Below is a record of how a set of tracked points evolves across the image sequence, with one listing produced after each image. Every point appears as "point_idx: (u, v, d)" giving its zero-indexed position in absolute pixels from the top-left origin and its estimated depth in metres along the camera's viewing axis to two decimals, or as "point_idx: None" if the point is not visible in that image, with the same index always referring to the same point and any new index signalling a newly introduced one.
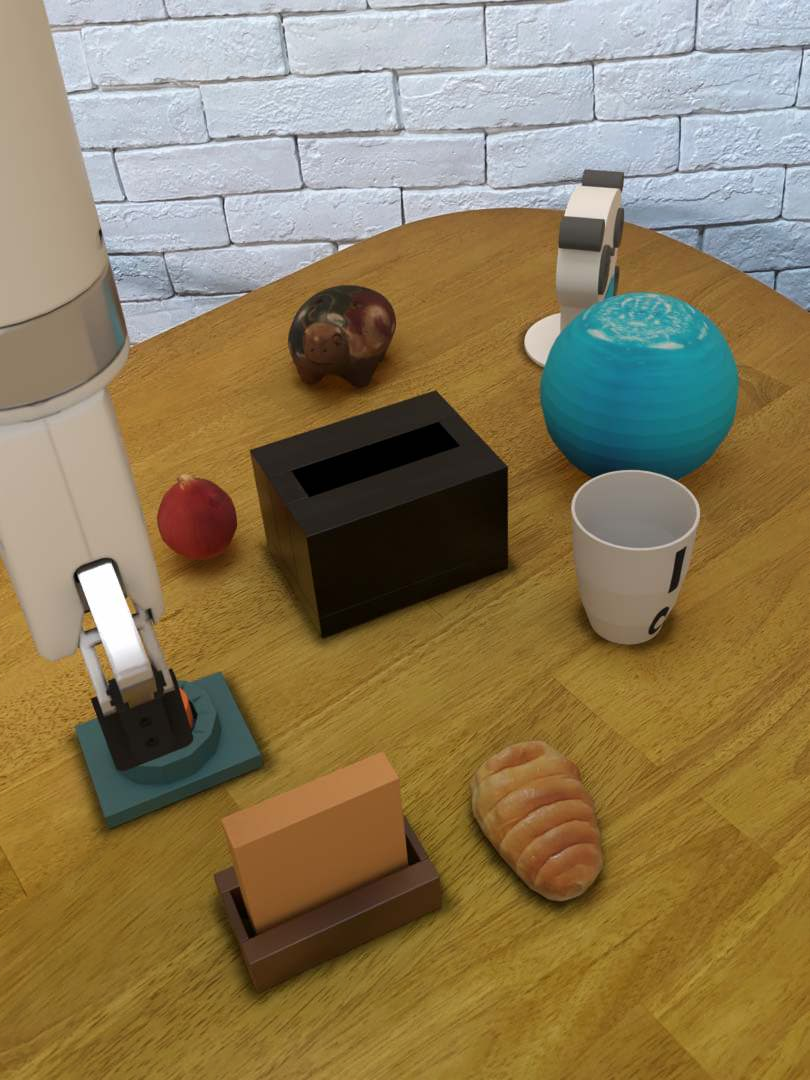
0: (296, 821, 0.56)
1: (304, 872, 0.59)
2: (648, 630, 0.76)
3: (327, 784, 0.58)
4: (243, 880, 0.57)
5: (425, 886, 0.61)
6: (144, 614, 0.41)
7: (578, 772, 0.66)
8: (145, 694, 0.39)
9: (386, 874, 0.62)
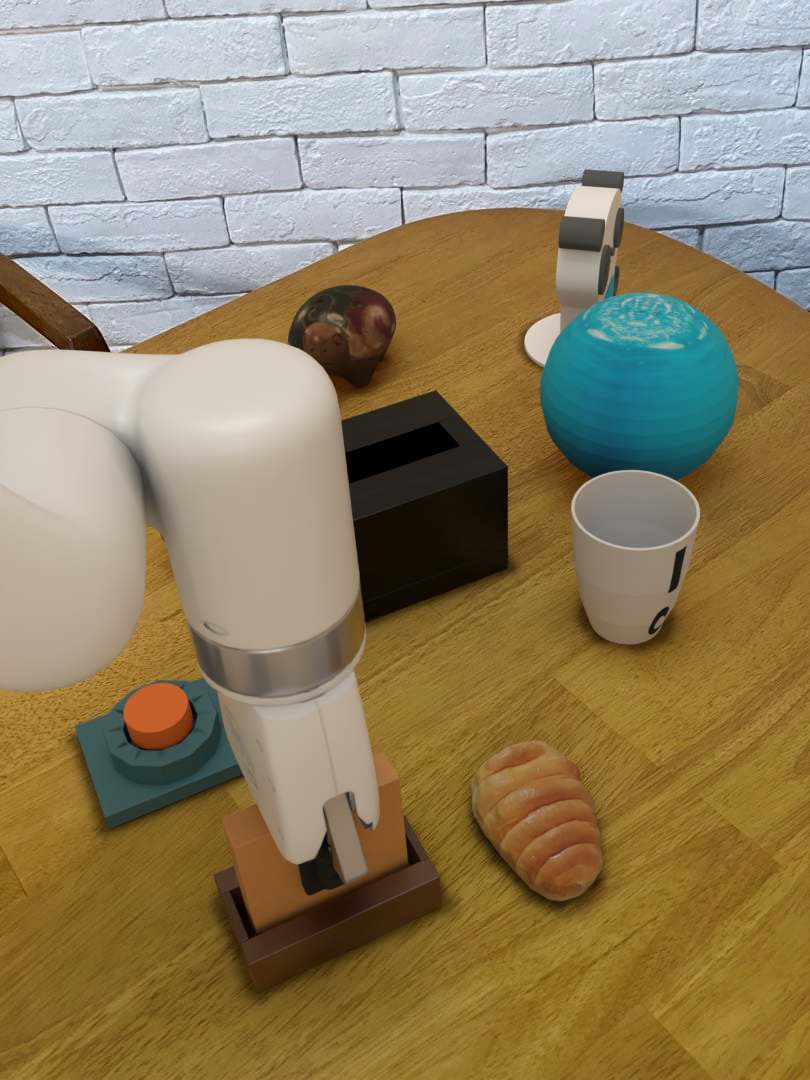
0: None
1: None
2: (648, 630, 0.76)
3: None
4: (243, 880, 0.57)
5: (425, 886, 0.61)
6: None
7: (578, 772, 0.66)
8: None
9: (387, 873, 0.62)
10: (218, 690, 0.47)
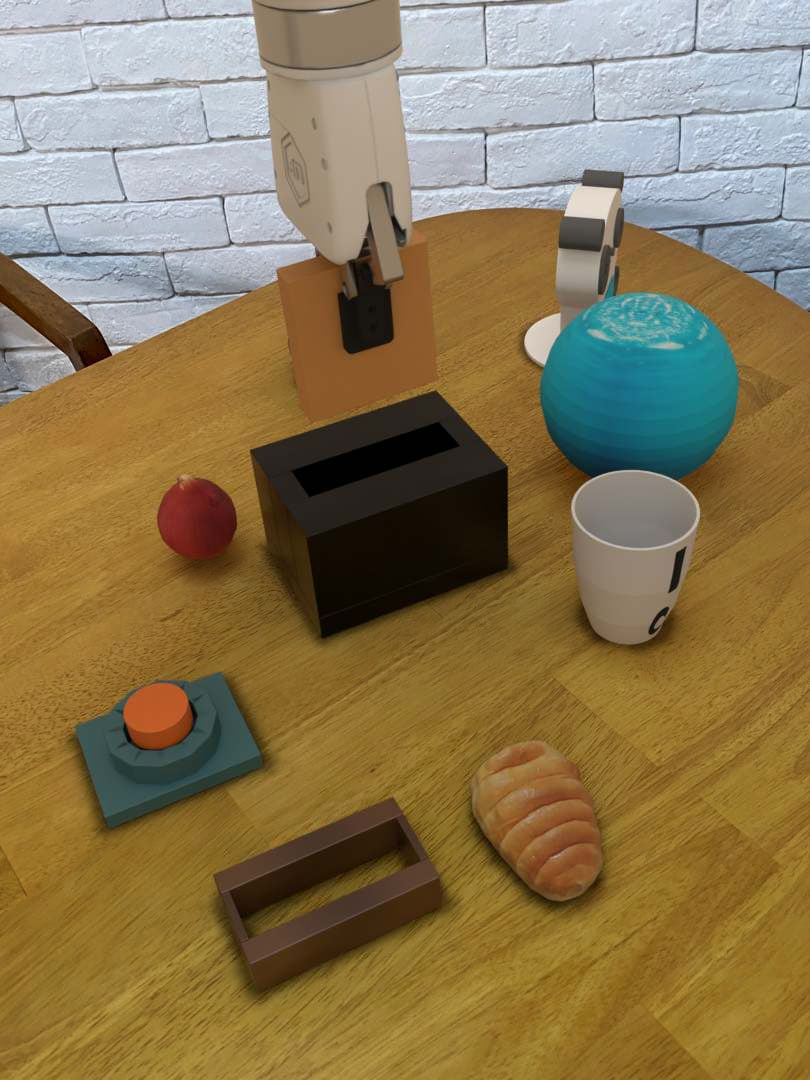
0: None
1: None
2: (648, 630, 0.76)
3: None
4: (296, 325, 0.67)
5: (425, 886, 0.61)
6: None
7: (578, 772, 0.66)
8: None
9: (417, 358, 0.72)
10: (281, 74, 0.57)
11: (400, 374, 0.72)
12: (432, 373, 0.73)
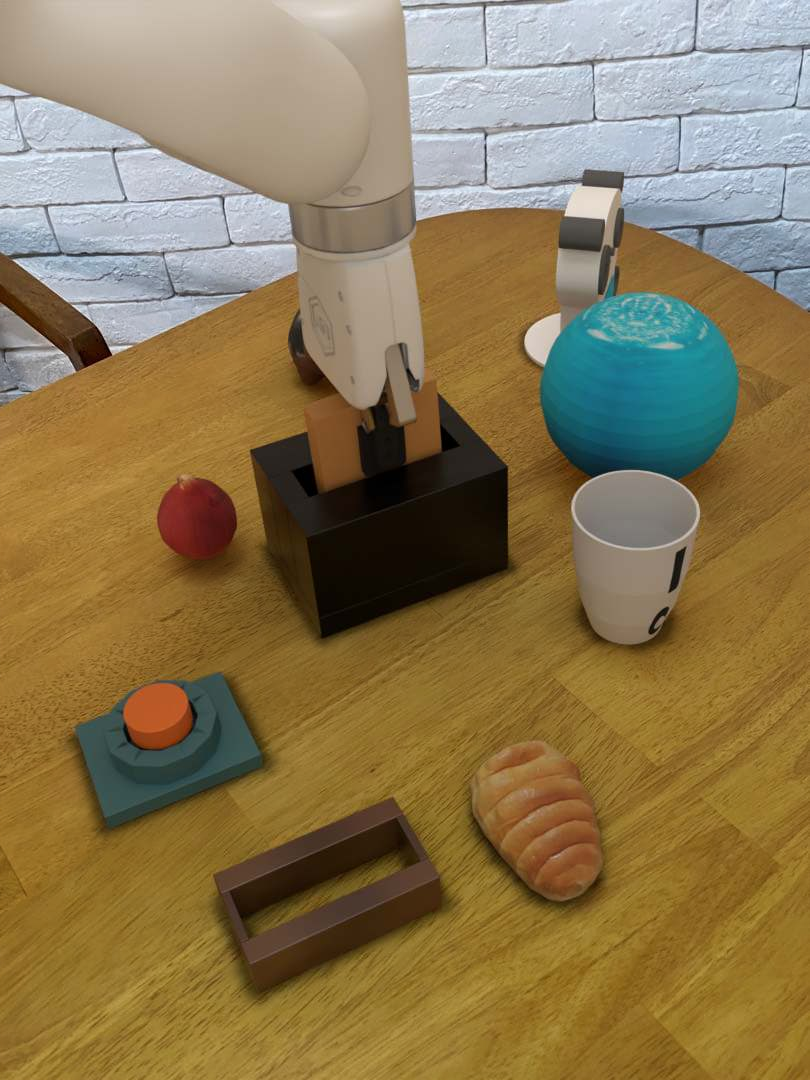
0: None
1: None
2: (648, 630, 0.76)
3: None
4: (320, 453, 0.75)
5: (425, 886, 0.61)
6: None
7: (578, 772, 0.66)
8: None
9: None
10: (312, 254, 0.66)
11: None
12: None
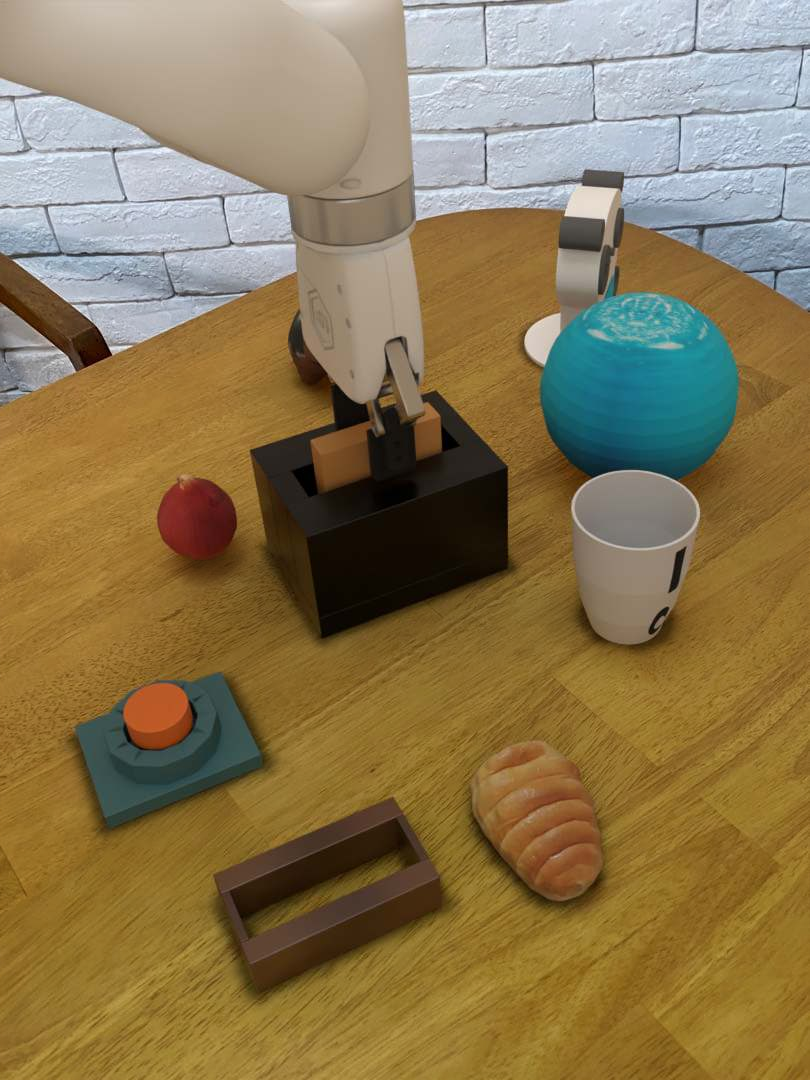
0: (366, 440, 0.77)
1: None
2: (648, 630, 0.76)
3: None
4: (326, 487, 0.77)
5: (425, 886, 0.61)
6: None
7: (578, 772, 0.66)
8: (412, 420, 0.70)
9: None
10: (311, 247, 0.66)
11: None
12: None
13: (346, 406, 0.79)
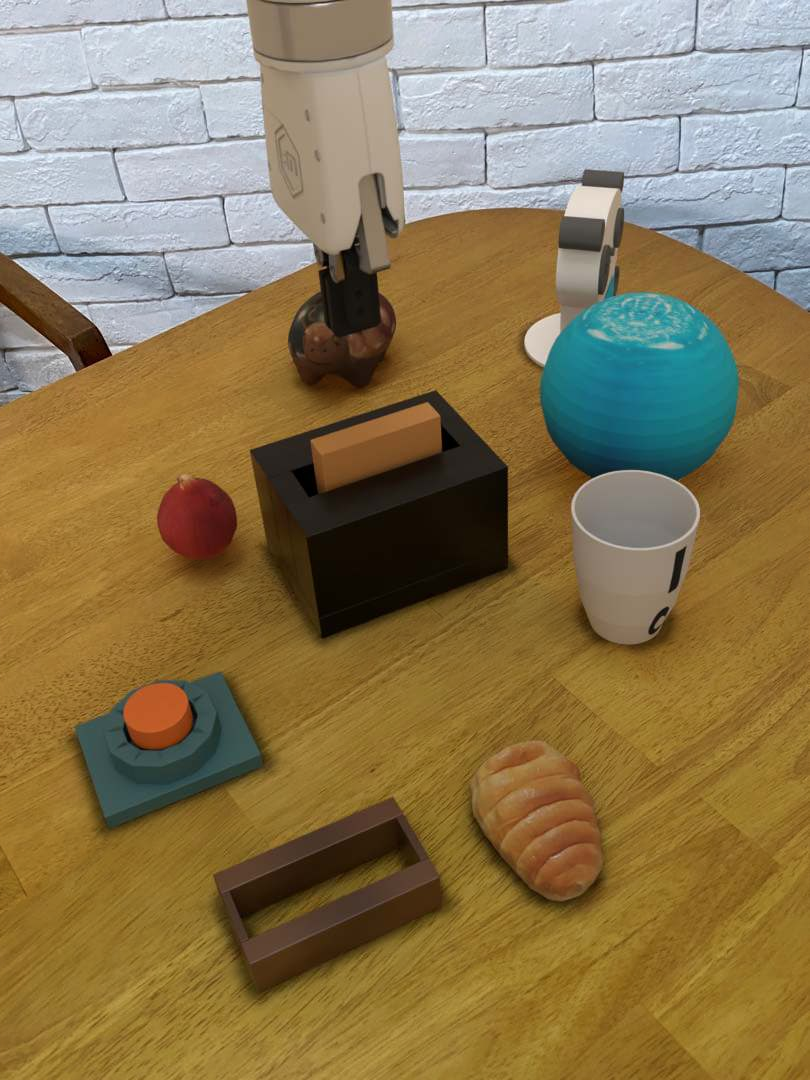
0: (366, 440, 0.77)
1: None
2: (648, 630, 0.76)
3: (387, 420, 0.78)
4: (326, 487, 0.77)
5: (425, 886, 0.61)
6: None
7: (578, 772, 0.66)
8: None
9: None
10: (274, 66, 0.58)
11: None
12: None
13: None
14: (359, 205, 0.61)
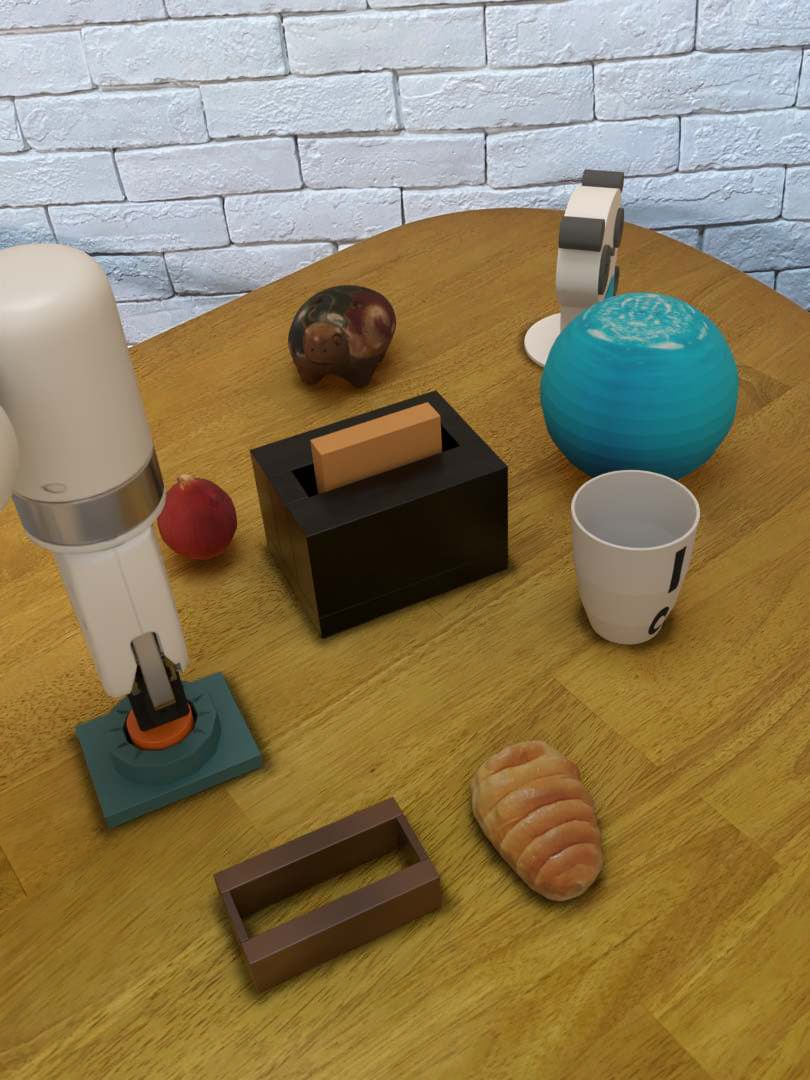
0: (366, 440, 0.77)
1: None
2: (648, 630, 0.76)
3: (387, 420, 0.78)
4: (326, 487, 0.77)
5: (425, 886, 0.61)
6: None
7: (578, 772, 0.66)
8: None
9: None
10: (36, 542, 0.57)
11: None
12: None
13: None
14: (133, 661, 0.60)
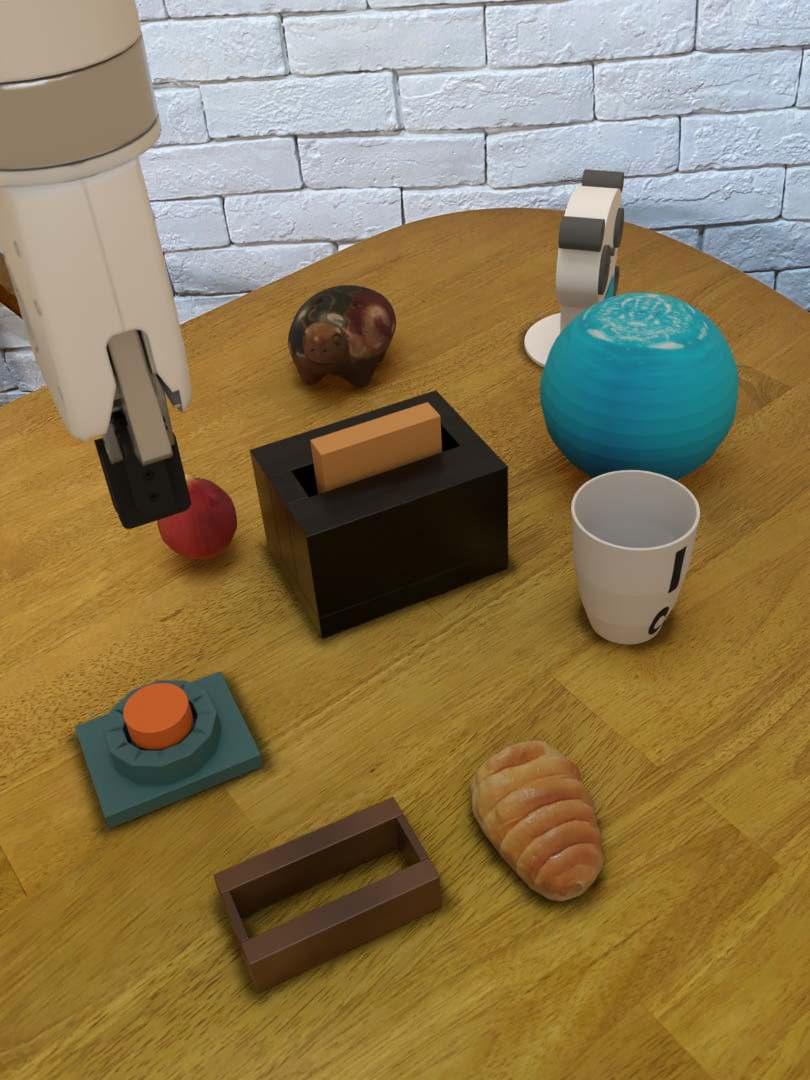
0: (366, 440, 0.77)
1: None
2: (648, 630, 0.76)
3: (387, 420, 0.78)
4: (326, 487, 0.77)
5: (425, 886, 0.61)
6: (161, 396, 0.45)
7: (578, 772, 0.66)
8: None
9: None
10: None
11: None
12: None
13: None
14: (111, 376, 0.41)
